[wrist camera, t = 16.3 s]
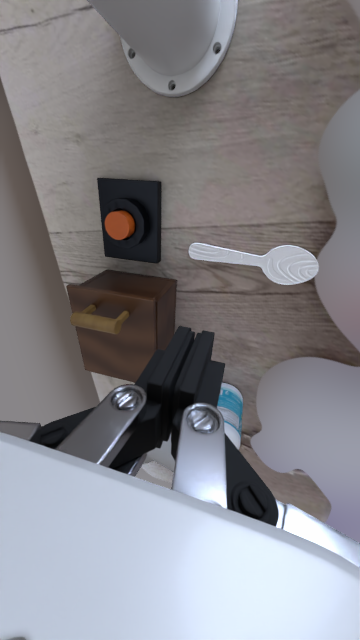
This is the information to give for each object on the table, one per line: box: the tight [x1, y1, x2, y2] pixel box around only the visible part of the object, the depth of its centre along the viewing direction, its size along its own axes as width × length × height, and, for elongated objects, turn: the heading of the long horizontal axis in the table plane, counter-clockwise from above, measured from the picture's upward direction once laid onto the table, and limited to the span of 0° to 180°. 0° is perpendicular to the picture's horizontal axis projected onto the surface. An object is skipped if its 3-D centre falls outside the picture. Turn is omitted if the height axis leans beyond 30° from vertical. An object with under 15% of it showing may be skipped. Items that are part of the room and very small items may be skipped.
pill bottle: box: [217, 383, 243, 450], centre depth 43 cm, size 8×7×14 cm
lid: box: [66, 284, 156, 383], centre depth 35 cm, size 15×13×5 cm
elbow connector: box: [143, 434, 175, 472], centre depth 55 cm, size 18×10×20 cm
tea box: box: [78, 270, 177, 350], centre depth 41 cm, size 15×13×9 cm
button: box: [105, 210, 135, 240], centre depth 34 cm, size 4×4×2 cm
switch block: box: [97, 178, 161, 263], centre depth 36 cm, size 11×9×4 cm
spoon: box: [188, 243, 319, 285], centre depth 35 cm, size 5×18×1 cm, turn 85°
